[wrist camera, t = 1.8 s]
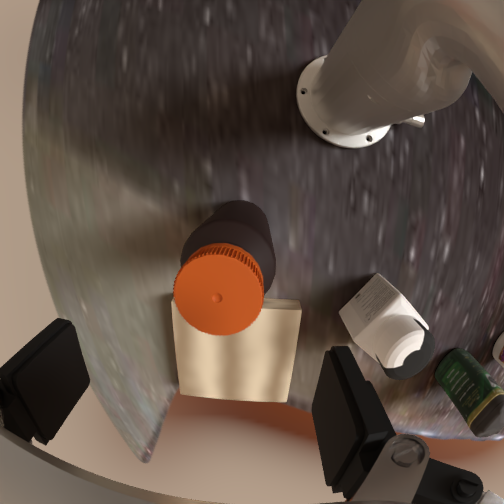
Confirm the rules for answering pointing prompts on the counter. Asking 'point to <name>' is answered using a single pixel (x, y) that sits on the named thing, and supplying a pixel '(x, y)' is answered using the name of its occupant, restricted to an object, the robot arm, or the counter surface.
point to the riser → (240, 356)
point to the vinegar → (226, 270)
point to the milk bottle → (499, 350)
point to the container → (388, 329)
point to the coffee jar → (472, 392)
